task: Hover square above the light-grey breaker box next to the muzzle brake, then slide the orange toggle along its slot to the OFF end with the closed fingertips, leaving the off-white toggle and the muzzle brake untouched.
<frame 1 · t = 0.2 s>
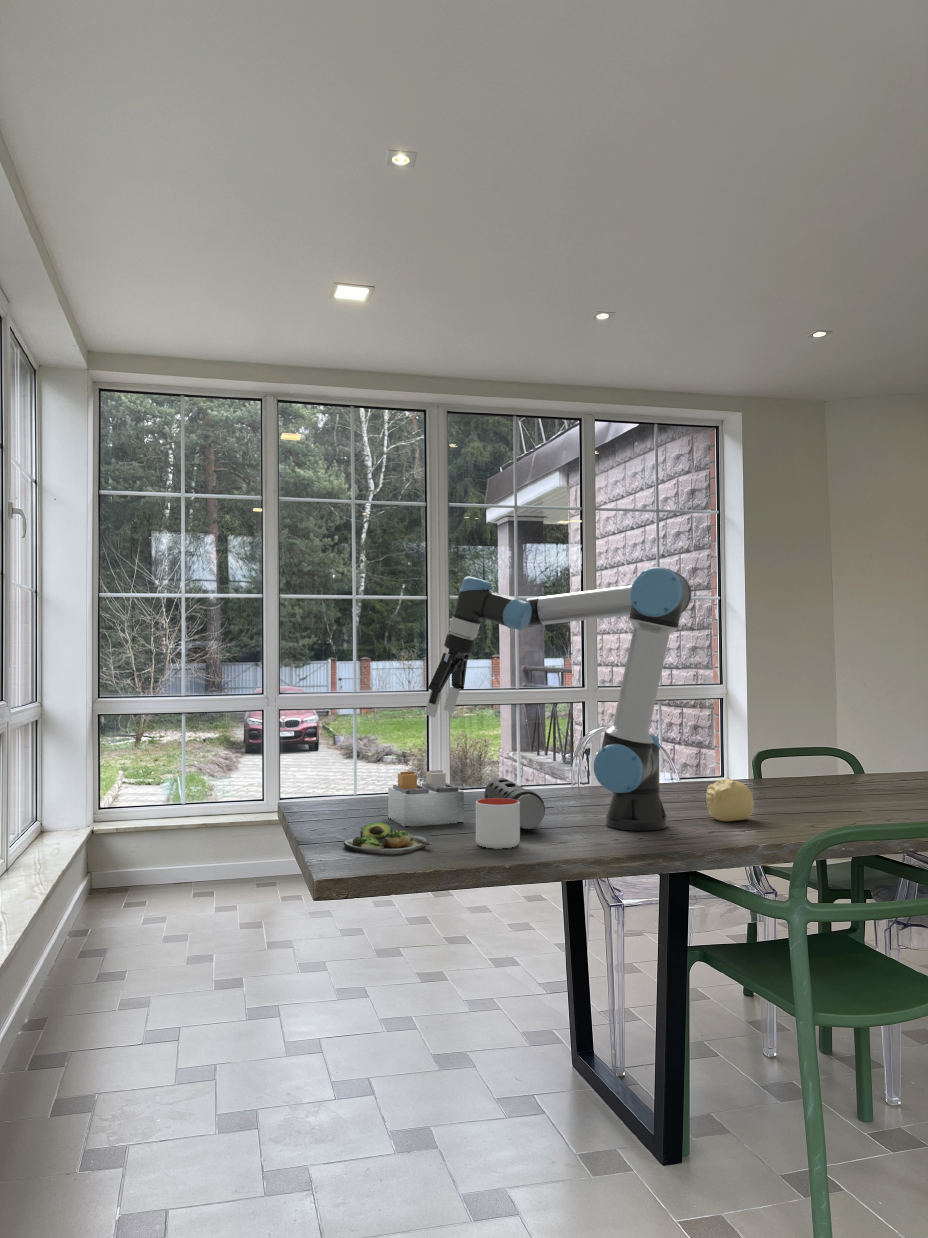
hand: (439, 713, 241), 28 cm above the table, tool tilted 20°, fingers open, 13 cm apart
toggle orange: (407, 779, 243), point 10 cm above the table, slide at 0.0 cm
salad plate: (384, 848, 209), on the table
muzzle brake: (513, 825, 235), on the table
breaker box: (425, 820, 241), on the table
toggle white: (435, 778, 246), point 10 cm above the table, slide at 0.0 cm
sculpture: (729, 821, 241), on the table
cup: (497, 846, 209), on the table
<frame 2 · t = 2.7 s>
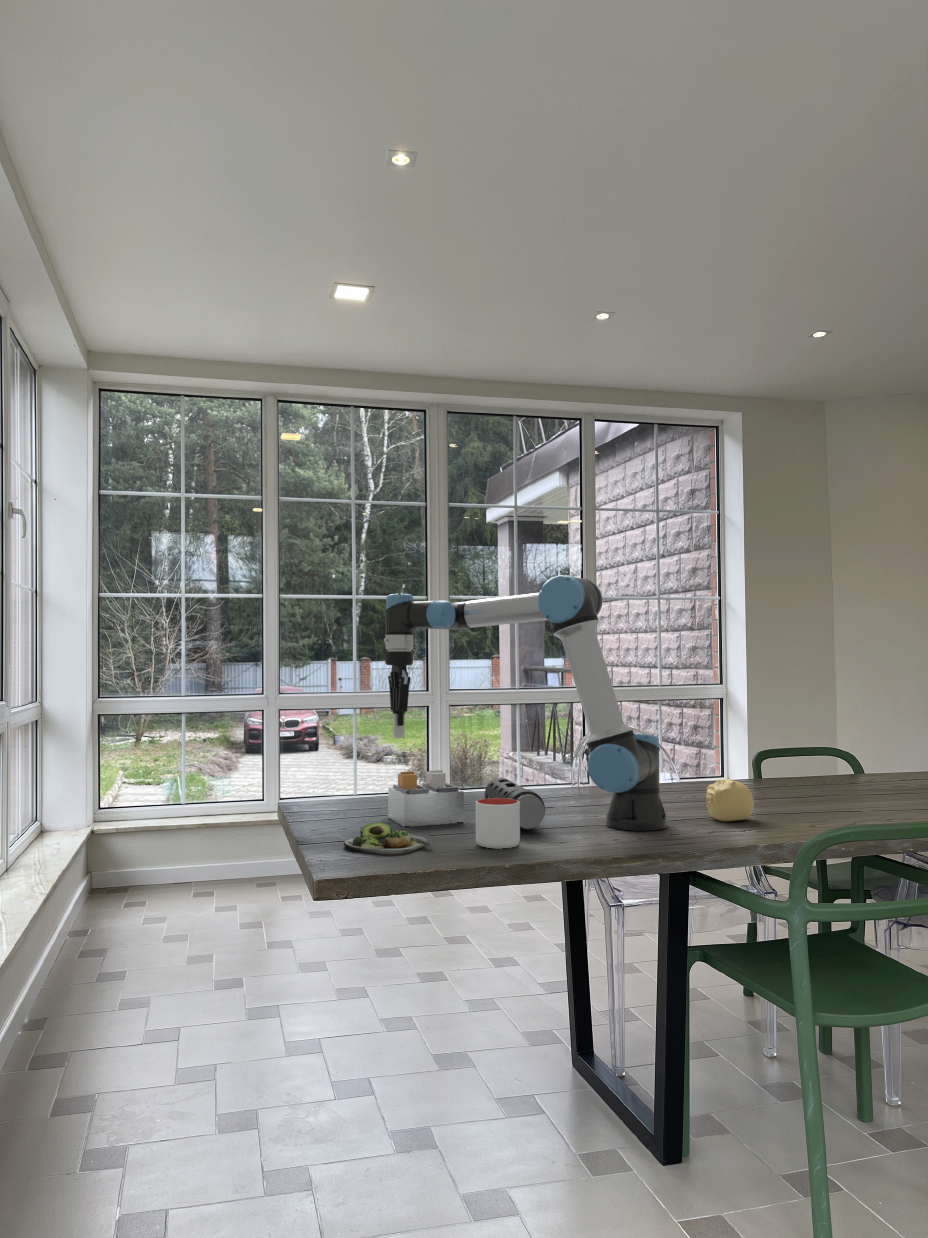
hand: (398, 737, 251), 21 cm above the table, tool pointing down, fingers closed
nothing on the table moved.
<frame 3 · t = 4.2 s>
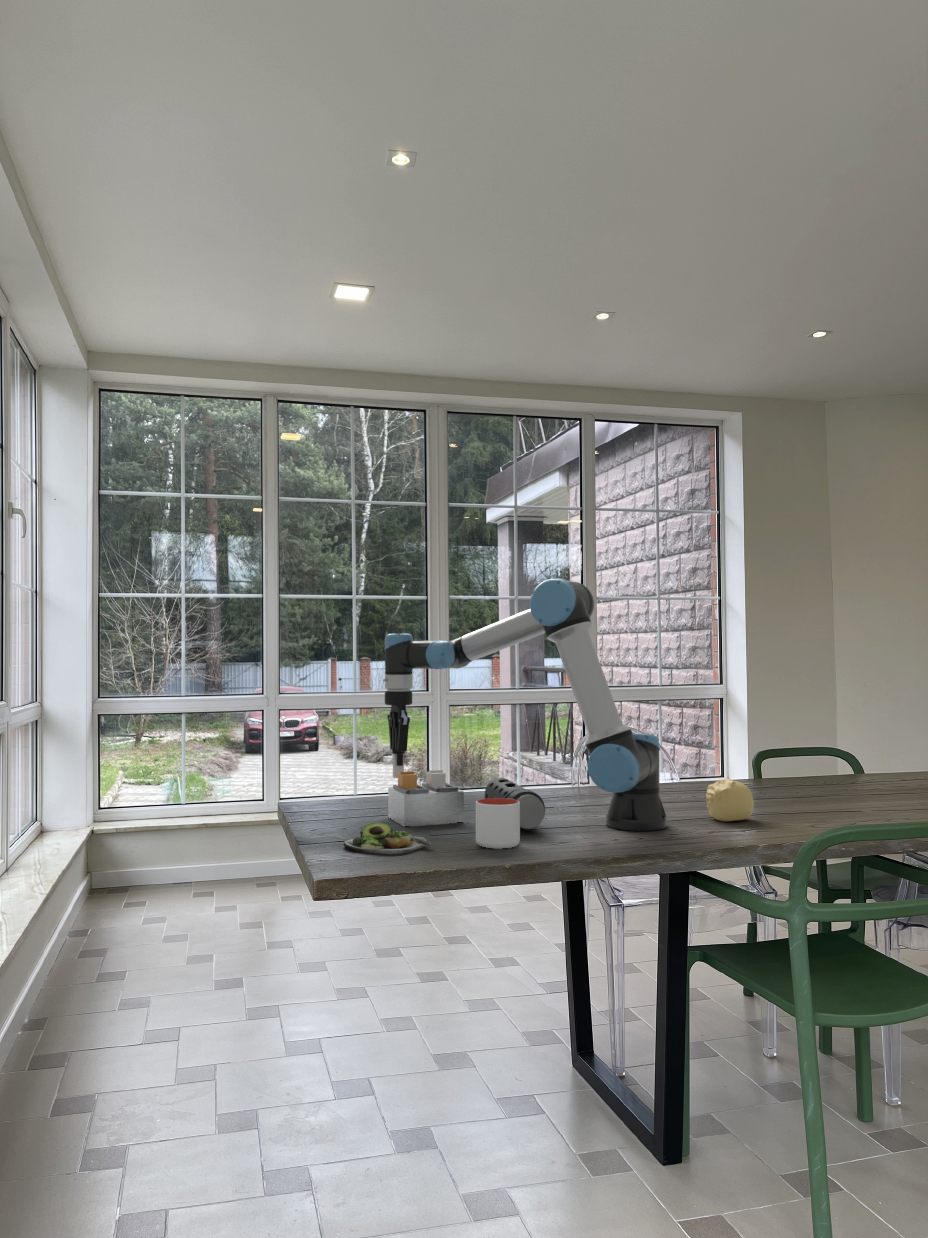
hand: (398, 777, 250), 10 cm above the table, tool pointing down, fingers closed
nothing on the table moved.
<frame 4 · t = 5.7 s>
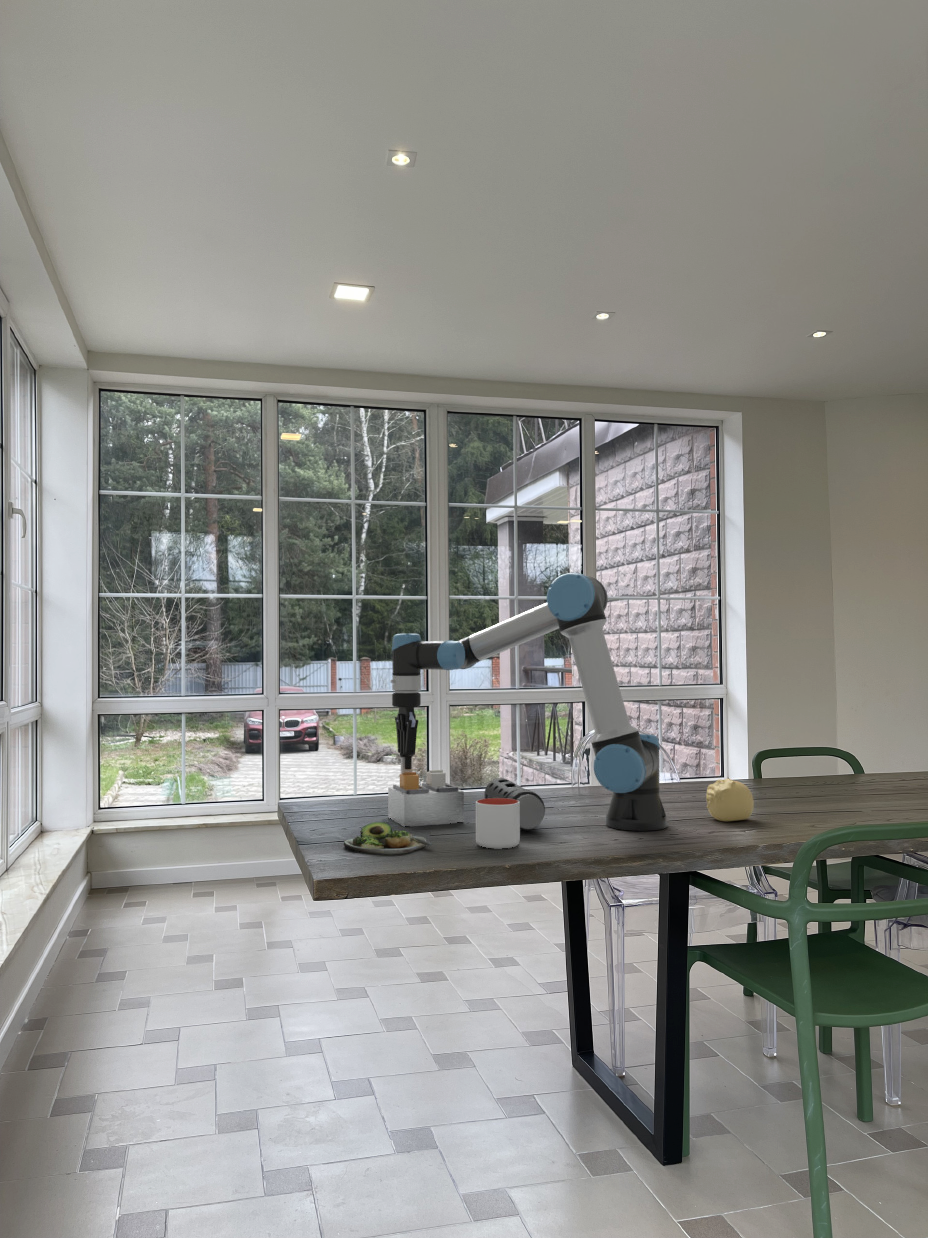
hand: (406, 781, 244), 10 cm above the table, tool pointing down, fingers closed
toggle orange: (409, 780, 241), point 10 cm above the table, slide at 1.7 cm, touching gripper
everything else where it was.
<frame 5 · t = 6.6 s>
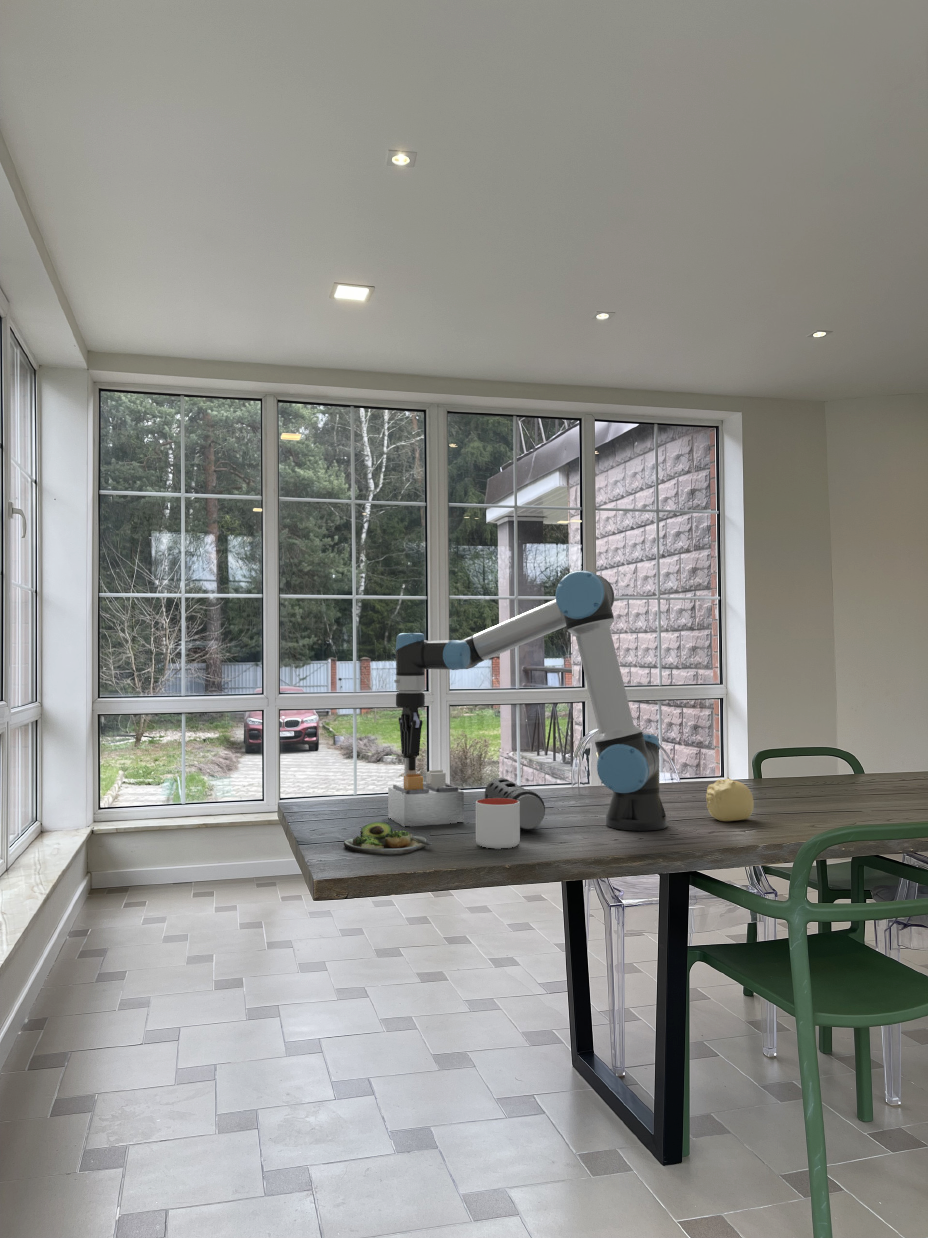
hand: (410, 782, 241), 10 cm above the table, tool pointing down, fingers closed
toggle orange: (413, 782, 238), point 10 cm above the table, slide at 5.1 cm, touching gripper
everything else where it was.
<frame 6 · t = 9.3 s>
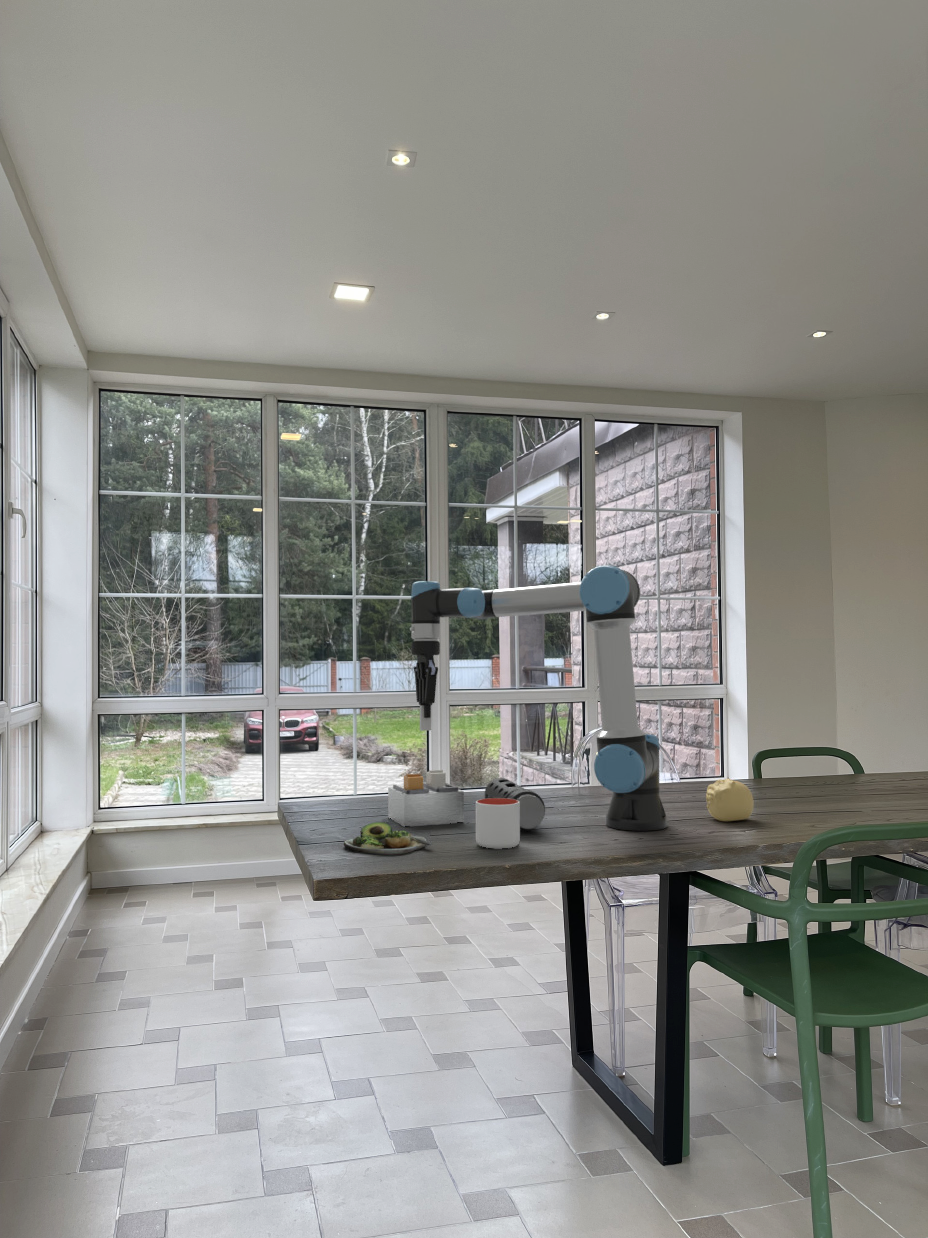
hand: (425, 730, 242), 23 cm above the table, tool pointing down, fingers closed
toggle orange: (413, 782, 238), point 10 cm above the table, slide at 5.2 cm
everything else where it was.
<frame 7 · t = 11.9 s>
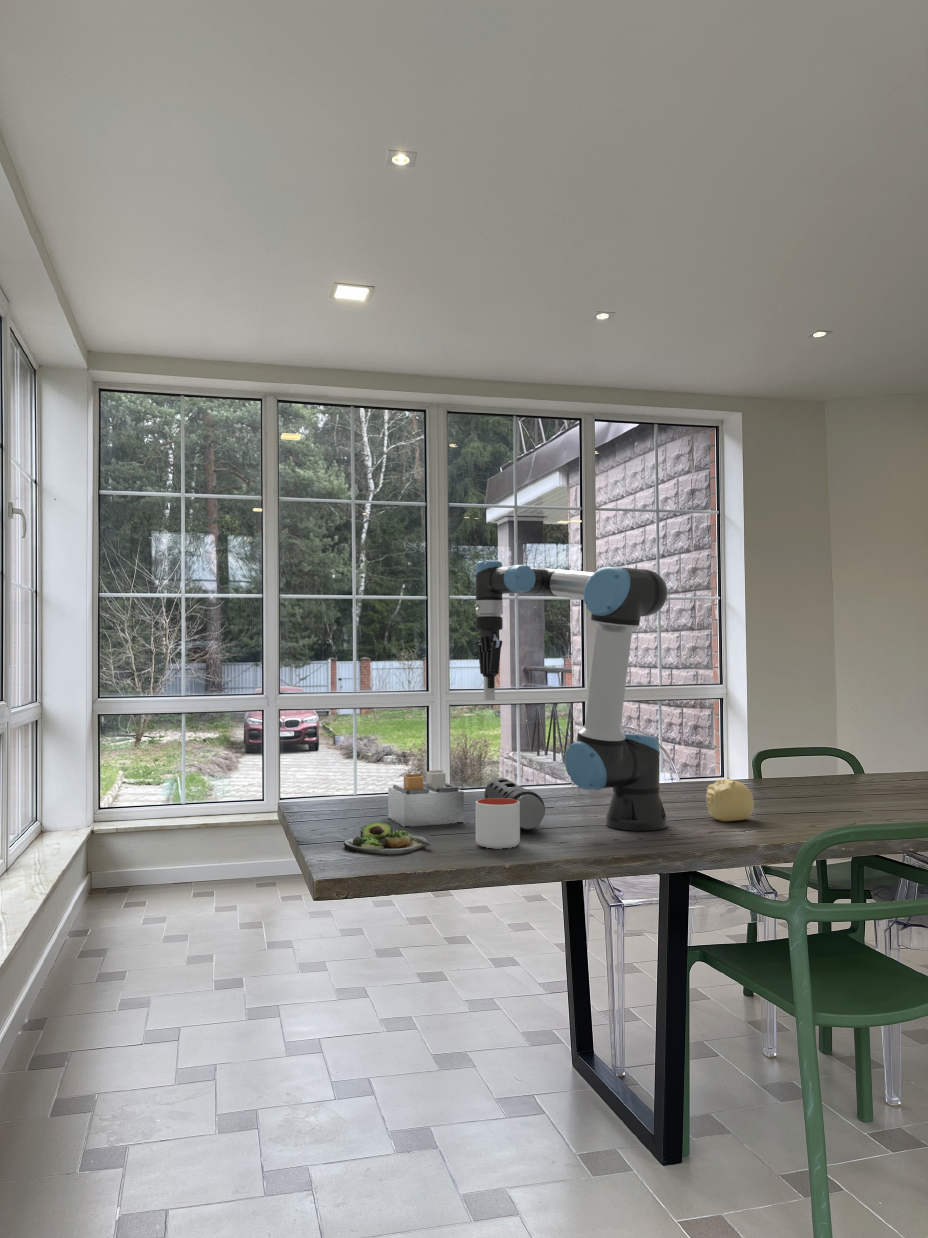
hand: (489, 700, 259), 30 cm above the table, tool pointing down, fingers closed
nothing on the table moved.
at the end: toggle orange slide at 5.2 cm; toggle white slide at 0.0 cm; muzzle brake moved 0.4 cm from its start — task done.
